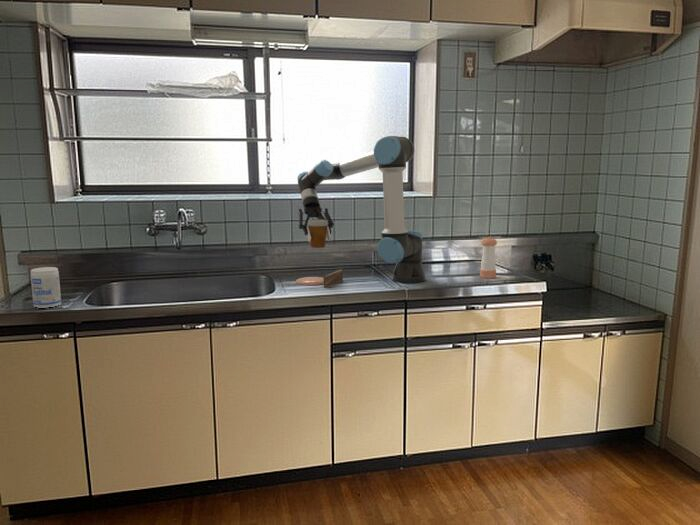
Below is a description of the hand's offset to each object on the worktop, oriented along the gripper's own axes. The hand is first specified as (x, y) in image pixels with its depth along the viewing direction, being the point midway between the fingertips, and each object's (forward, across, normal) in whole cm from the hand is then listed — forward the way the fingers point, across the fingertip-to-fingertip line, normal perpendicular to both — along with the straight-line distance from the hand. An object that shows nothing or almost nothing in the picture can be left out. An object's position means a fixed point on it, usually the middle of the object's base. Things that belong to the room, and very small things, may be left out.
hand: (319, 239), depth 246 cm
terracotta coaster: (+11, +2, -17) cm, 21 cm away
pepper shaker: (+24, -78, -3) cm, 82 cm away
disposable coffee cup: (0, 0, -5) cm, 5 cm away
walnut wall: (+16, -5, -12) cm, 21 cm away
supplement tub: (+16, +110, -15) cm, 112 cm away
